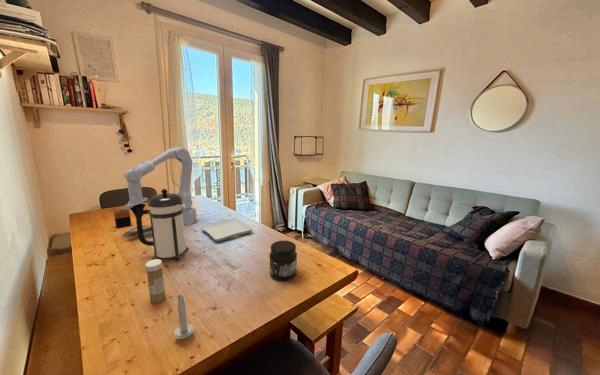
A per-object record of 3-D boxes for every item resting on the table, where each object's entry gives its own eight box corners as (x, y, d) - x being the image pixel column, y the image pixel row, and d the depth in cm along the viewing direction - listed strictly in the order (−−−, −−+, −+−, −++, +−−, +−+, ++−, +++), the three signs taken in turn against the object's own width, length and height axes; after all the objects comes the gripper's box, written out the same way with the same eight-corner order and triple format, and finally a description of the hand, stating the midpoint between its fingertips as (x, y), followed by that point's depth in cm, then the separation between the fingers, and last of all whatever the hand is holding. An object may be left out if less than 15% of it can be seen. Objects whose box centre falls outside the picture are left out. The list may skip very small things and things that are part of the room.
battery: (131, 225, 141) (129, 209, 139) (116, 228, 137) (114, 211, 135) (130, 223, 144) (128, 207, 142) (115, 226, 140) (113, 209, 138)
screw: (197, 336, 67) (179, 347, 64) (189, 327, 71) (171, 337, 67) (193, 294, 64) (174, 303, 61) (185, 286, 68) (166, 295, 64)
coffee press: (181, 243, 121) (175, 183, 114) (195, 255, 110) (189, 189, 103) (140, 255, 109) (131, 188, 102) (151, 270, 98) (141, 196, 91)
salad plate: (216, 245, 120) (215, 238, 120) (199, 231, 136) (199, 225, 135) (254, 234, 134) (254, 228, 133) (235, 222, 150) (235, 217, 149)
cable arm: (156, 229, 134) (155, 222, 133) (159, 230, 132) (158, 224, 131) (127, 237, 124) (126, 230, 123) (129, 239, 122) (128, 232, 121)
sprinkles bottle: (147, 299, 81) (142, 262, 78) (162, 293, 85) (158, 257, 82) (153, 306, 78) (148, 267, 75) (168, 299, 82) (164, 262, 79)
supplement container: (271, 266, 103) (271, 239, 100) (297, 267, 102) (297, 240, 100) (267, 281, 92) (267, 251, 90) (296, 282, 92) (296, 252, 89)
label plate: (165, 228, 139) (165, 225, 139) (150, 237, 126) (150, 235, 126) (139, 227, 140) (139, 224, 139) (122, 236, 127) (121, 234, 127)
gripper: (137, 189, 134) (141, 213, 137) (116, 196, 120) (121, 223, 123) (150, 189, 134) (153, 213, 137) (131, 197, 119) (135, 223, 123)
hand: (139, 218), depth 130 cm, fingers closed
